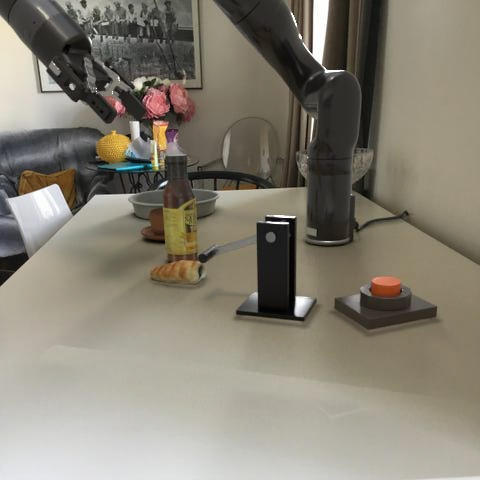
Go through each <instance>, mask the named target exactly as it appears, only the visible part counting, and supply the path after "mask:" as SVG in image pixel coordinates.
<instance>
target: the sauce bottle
mask: <svg viewBox="0 0 480 480" xmlns="http://www.w3.org/2000/svg"><path fill="white" fill-rule="evenodd" d="M164 157H165V164H166V172H167V173H166V174H167V176H166V178H167V181H166V183H165V185H164V187H163V189H162V190H163V216H164V231H165V241H164V242H165V244H164V245H165V253H166V259H167V261H168V263H172V262H179V261H180V260H185V261H197V260H198V256H199V255H198V253H199V239H198V238H199V236H198V219H197V215H196V198H195V195H194V193H193V190H192V189H193V188H192V185H191V183H190V180H189V175H188V162H189V160H188V154H186V153H173V154H165V155H164Z"/></svg>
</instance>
